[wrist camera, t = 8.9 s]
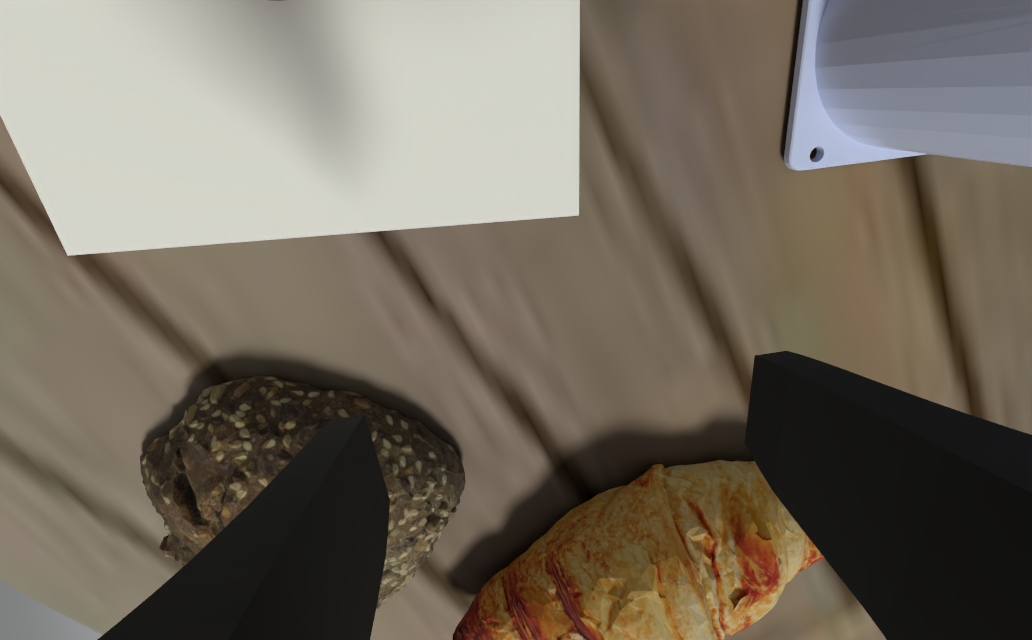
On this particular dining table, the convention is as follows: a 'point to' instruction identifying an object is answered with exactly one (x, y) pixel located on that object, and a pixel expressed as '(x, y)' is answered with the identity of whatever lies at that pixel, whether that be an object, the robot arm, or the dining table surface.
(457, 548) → the dining table surface
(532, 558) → the croissant
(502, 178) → the cover
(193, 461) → the bread roll
